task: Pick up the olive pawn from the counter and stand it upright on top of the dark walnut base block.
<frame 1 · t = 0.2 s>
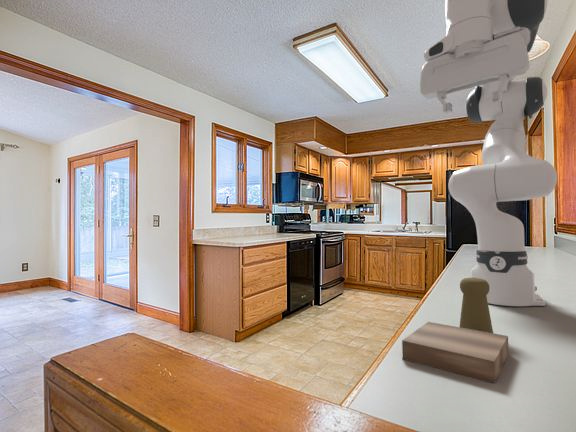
hand: (471, 106, 69), 47 cm above the counter, fingers open, 8 cm apart
walnut base: (456, 356, 54), on the counter
olive pawn: (476, 333, 65), on the counter
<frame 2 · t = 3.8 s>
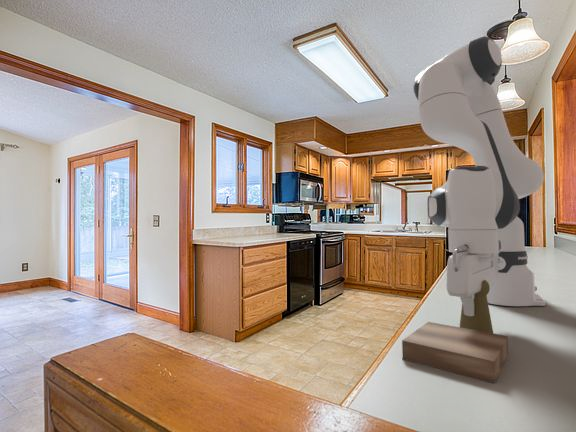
hand: (474, 312, 65), 4 cm above the counter, fingers closed on olive pawn, 5 cm apart
olive pawn: (476, 333, 65), on the counter, touching gripper
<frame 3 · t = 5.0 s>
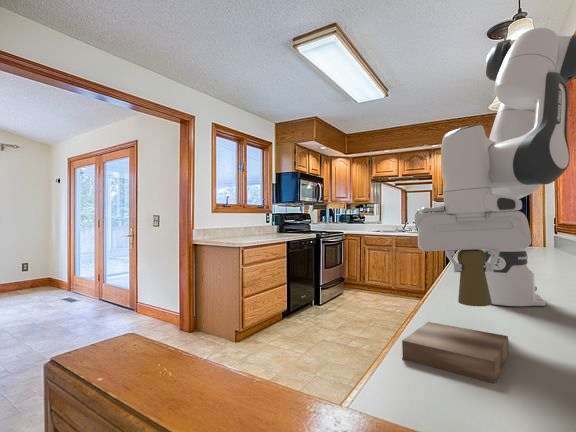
hand: (472, 271, 66), 12 cm above the counter, fingers closed on olive pawn, 4 cm apart
olive pawn: (474, 303, 66), point 6 cm above the counter, touching gripper
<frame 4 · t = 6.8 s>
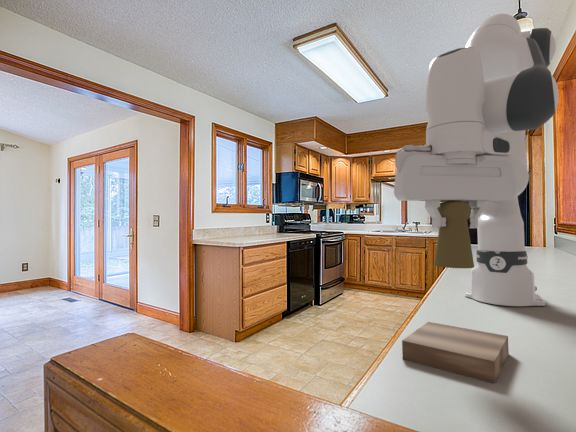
hand: (454, 228, 54), 21 cm above the counter, fingers closed on olive pawn, 4 cm apart
olive pawn: (453, 266, 54), point 15 cm above the counter, touching gripper
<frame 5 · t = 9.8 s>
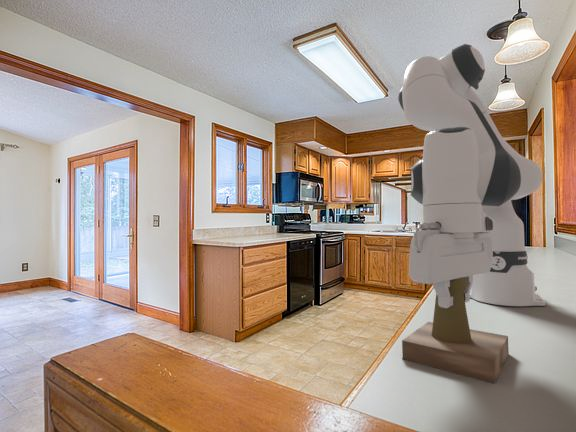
hand: (454, 304, 54), 9 cm above the counter, fingers closed on olive pawn, 4 cm apart
olive pawn: (451, 338, 54), point 3 cm above the counter, touching gripper, walnut base
when the fingers open (9 cm above the counter, at t = 10.0 s): olive pawn stays where it is, resting on walnut base.
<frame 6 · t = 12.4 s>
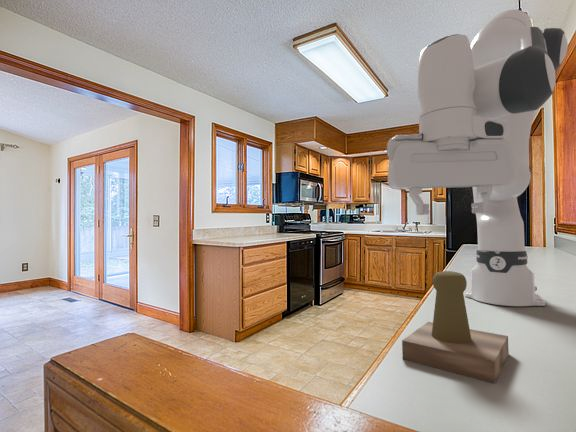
hand: (450, 214, 54), 24 cm above the counter, fingers open, 8 cm apart
olive pawn: (451, 338, 54), point 3 cm above the counter, touching walnut base
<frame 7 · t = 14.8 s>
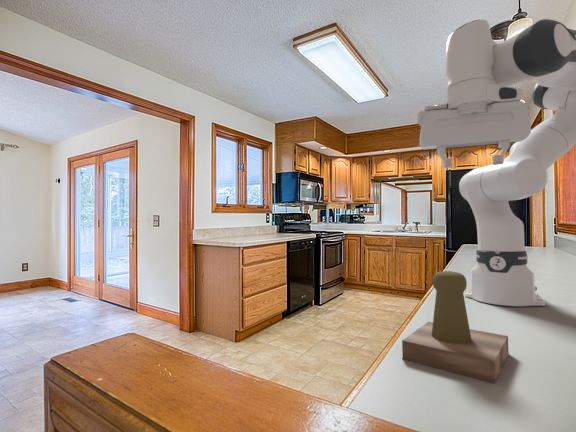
hand: (472, 166, 67), 34 cm above the counter, fingers open, 8 cm apart
nothing on the counter moved.
at the end: olive pawn inside the target area on the walnut base (0.7 cm from its centre), point 2.8 cm above the walnut base's base; olive pawn tilted 0°; the gripper is holding nothing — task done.
